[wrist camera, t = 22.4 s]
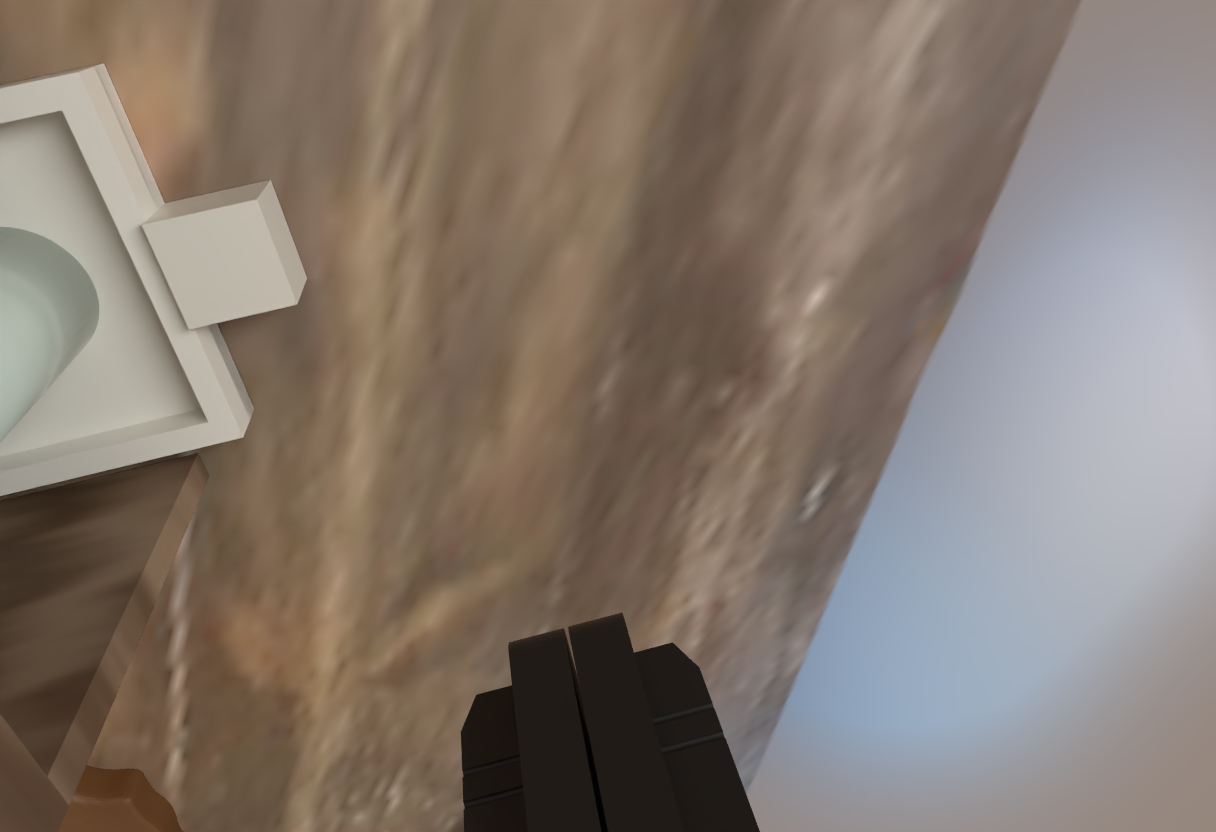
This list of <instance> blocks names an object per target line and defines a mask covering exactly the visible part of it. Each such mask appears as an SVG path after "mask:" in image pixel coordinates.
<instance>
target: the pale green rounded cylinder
mask: <svg viewBox="0 0 1216 832" xmlns="http://www.w3.org/2000/svg"><path fill="white" fill-rule="evenodd" d="M98 320H99V300H98V296H97V292H96V289H95V287H94V284H93V282H92V280H91V278H90V277H89V275H88V273H87V272H86V271H85V269H84V268H83V267H82V265H81V264H80V263H79V262H78V261H77V260H76V259H75V258H74V257H73V256H72V255H71V254H70V253H69V252H67V251H66V250H65V249H64V248H62V247H61V246H59V245H58V244H56V243H55V242H53V241H51V240H49V239H47V238H46V237H43V236H41V235H38V234H36V233H33V232H30V231H27V230H23V229H18V228H12V227H0V442H1V441H2V440H3V439H4V438H5V437H6V436H7V434H8V433H9V432H10V431H11V430H12V429H13V428H14V426H15V425H16V424H17V423H18V422H19V421H20V420H21V418H22V417H23V416H24V415H25V414H26V413H27V412H28V411H29V409H30V408H31V407H32V406H33V405H34V404H35V403H36V401H37V400H38V399H39V398H40V397H41V396H42V395H43V393H44V392H45V391H46V390H47V389H48V388H49V387H50V385H51V384H52V383H53V382H54V381H55V380H56V379H57V377H58V376H59V375H60V374H61V373H62V372H63V371H64V369H65V368H66V367H67V366H68V365H69V364H70V363H71V362H72V360H73V359H74V358H75V357H76V356H77V355H78V354H79V352H80V351H81V350H82V349H83V348H84V347H85V346H86V344H87V343H88V342H89V341H90V339H91V338H92V336H93V334H94V333H95V330H96V328H97V325H98Z"/></svg>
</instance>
